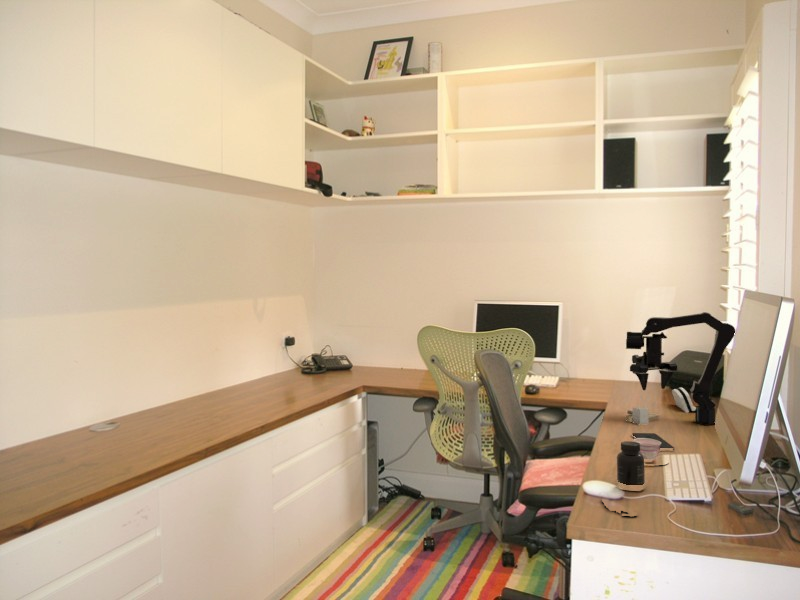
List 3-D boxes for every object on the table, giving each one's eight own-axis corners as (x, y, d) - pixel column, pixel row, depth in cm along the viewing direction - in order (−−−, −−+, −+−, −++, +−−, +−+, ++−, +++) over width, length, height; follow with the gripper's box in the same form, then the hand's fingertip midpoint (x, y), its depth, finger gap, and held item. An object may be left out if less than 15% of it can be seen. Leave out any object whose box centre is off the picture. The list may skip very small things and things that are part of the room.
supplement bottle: (638, 484, 172) (638, 439, 171) (649, 492, 165) (649, 446, 164) (613, 484, 171) (613, 440, 171) (622, 493, 164) (622, 446, 164)
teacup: (618, 458, 196) (618, 438, 196) (647, 454, 201) (647, 435, 201) (647, 469, 185) (647, 448, 185) (678, 464, 190) (678, 443, 190)
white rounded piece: (699, 413, 263) (690, 390, 263) (687, 416, 263) (679, 393, 264) (688, 405, 279) (680, 383, 279) (677, 408, 280) (669, 387, 280)
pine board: (658, 419, 250) (658, 414, 250) (631, 422, 246) (631, 417, 245) (651, 418, 253) (652, 413, 253) (625, 420, 249) (625, 415, 249)
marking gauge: (648, 424, 243) (648, 408, 243) (639, 425, 241) (640, 409, 241) (632, 419, 251) (633, 404, 251) (624, 420, 249) (624, 405, 249)
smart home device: (655, 432, 224) (675, 447, 204) (655, 437, 224) (675, 453, 204) (631, 432, 225) (648, 447, 205) (631, 437, 225) (648, 452, 205)
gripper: (657, 346, 260) (657, 384, 260) (620, 348, 253) (620, 387, 254) (678, 349, 249) (678, 389, 250) (640, 351, 243) (639, 392, 243)
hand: (653, 389), depth 250 cm, fingers open, 9 cm apart
